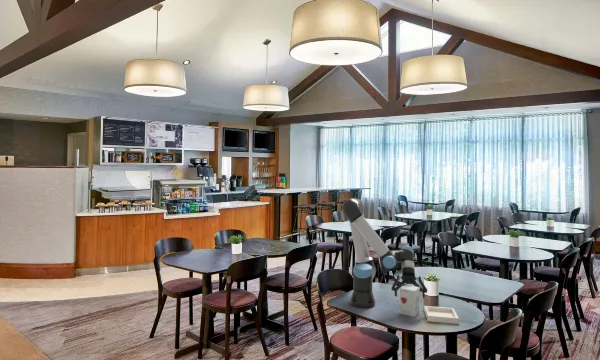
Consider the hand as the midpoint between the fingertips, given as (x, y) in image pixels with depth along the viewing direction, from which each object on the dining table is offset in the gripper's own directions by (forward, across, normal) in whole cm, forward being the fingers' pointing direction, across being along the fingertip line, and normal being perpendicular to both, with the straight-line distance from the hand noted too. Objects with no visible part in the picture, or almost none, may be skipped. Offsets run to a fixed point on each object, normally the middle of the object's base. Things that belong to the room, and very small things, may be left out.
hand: (409, 302), depth 224 cm
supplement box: (+4, 0, -6) cm, 7 cm away
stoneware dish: (+5, -17, -4) cm, 18 cm away
